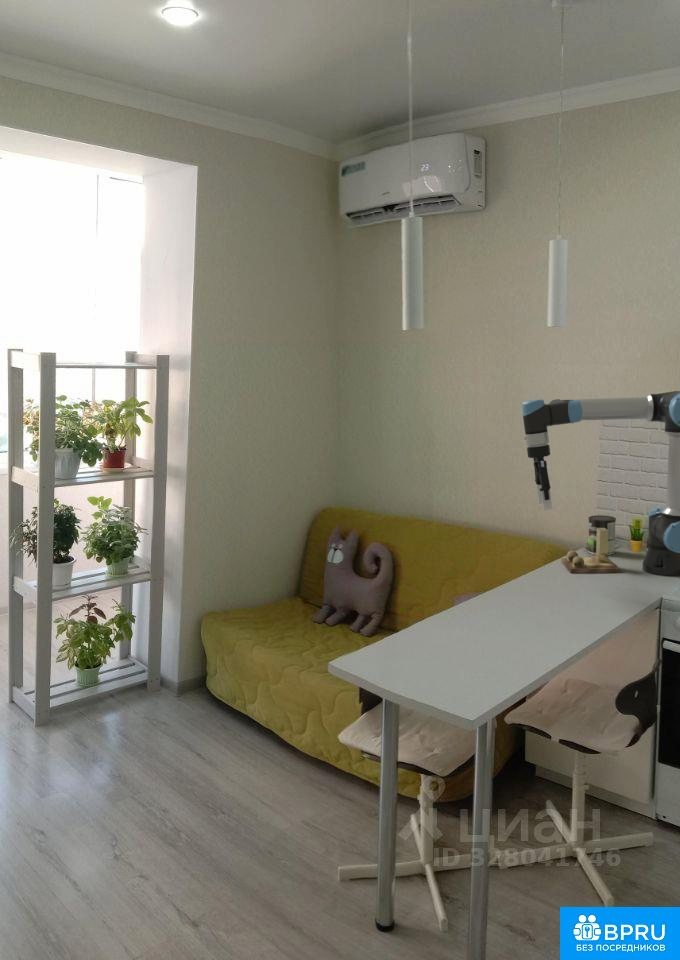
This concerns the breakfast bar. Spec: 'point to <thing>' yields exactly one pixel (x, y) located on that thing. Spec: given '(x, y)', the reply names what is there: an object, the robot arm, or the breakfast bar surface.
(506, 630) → the breakfast bar surface
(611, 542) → the coffee can
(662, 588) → the breakfast bar surface
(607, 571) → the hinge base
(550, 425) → the robot arm
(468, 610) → the breakfast bar surface
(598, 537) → the beige rectangular block
